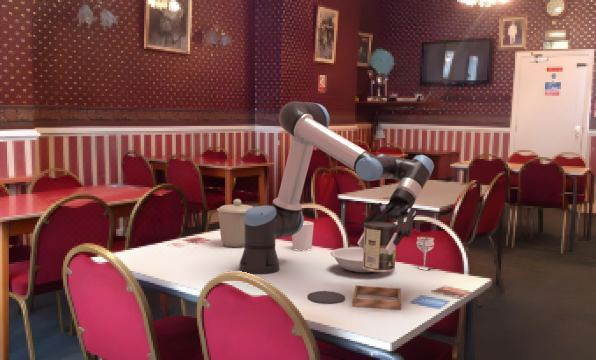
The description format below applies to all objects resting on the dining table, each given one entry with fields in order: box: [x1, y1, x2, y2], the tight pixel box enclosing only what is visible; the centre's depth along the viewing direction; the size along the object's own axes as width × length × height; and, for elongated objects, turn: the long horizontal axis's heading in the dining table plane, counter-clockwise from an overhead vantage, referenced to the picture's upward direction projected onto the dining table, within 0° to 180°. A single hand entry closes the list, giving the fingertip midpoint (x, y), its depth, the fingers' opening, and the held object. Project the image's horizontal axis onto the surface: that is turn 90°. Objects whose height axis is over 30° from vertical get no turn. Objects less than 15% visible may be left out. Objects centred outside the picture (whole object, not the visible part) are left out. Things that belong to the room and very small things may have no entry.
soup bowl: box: [330, 246, 374, 273], centre depth 219 cm, size 24×24×7 cm
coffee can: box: [362, 221, 398, 273], centre depth 180 cm, size 10×10×14 cm
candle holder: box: [291, 220, 315, 250], centre depth 255 cm, size 10×10×12 cm
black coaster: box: [306, 290, 346, 305], centre depth 183 cm, size 12×12×1 cm
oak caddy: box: [351, 285, 402, 311], centre depth 181 cm, size 15×15×2 cm
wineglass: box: [416, 236, 435, 268], centre depth 225 cm, size 7×7×12 cm
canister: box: [216, 198, 254, 248], centre depth 260 cm, size 18×18×21 cm
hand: (373, 249), depth 178 cm, fingers closed on coffee can, 10 cm apart
